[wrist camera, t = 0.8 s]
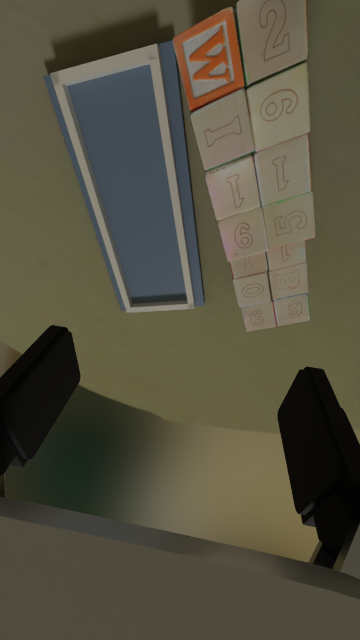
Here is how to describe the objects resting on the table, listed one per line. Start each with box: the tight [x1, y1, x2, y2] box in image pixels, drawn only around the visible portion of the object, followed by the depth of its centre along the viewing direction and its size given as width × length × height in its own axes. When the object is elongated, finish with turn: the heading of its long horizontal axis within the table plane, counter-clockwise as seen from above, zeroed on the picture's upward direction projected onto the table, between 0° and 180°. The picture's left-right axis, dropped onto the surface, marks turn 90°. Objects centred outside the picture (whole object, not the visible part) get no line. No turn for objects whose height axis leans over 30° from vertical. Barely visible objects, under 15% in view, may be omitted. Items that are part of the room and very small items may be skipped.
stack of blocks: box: [172, 0, 315, 332], centre depth 22 cm, size 21×6×12 cm, turn 18°
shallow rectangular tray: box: [43, 41, 205, 313], centre depth 28 cm, size 12×25×2 cm, turn 9°
